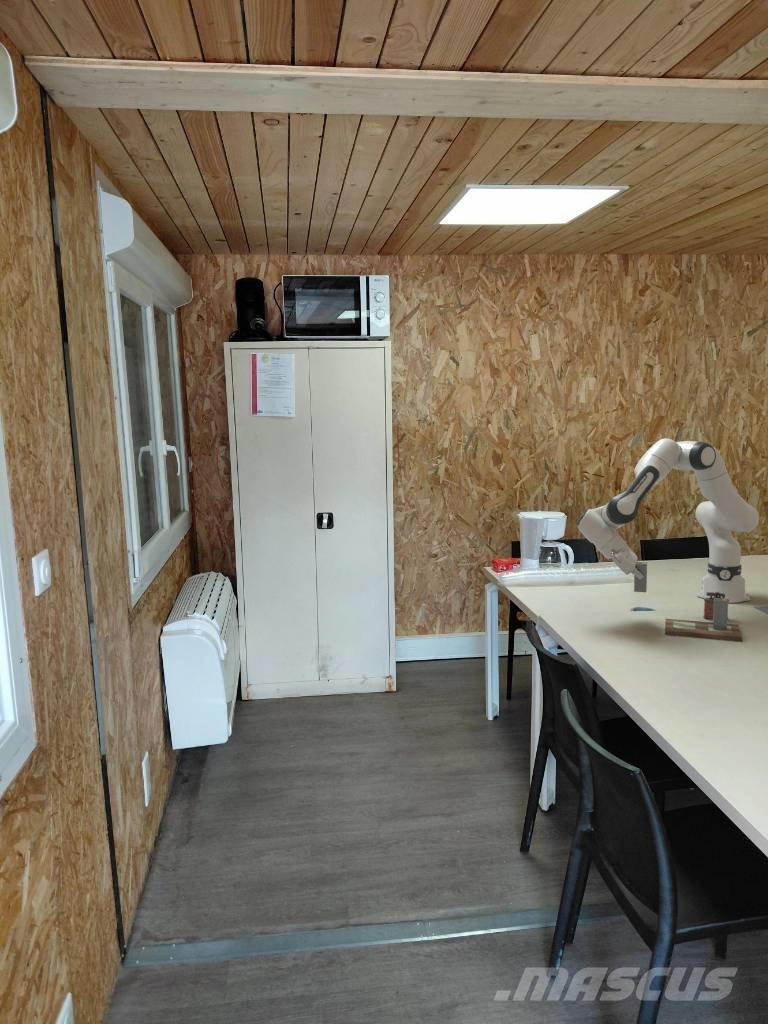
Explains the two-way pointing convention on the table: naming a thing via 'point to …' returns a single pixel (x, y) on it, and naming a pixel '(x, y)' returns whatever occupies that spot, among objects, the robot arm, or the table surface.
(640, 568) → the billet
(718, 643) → the table surface
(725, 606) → the block
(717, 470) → the robot arm
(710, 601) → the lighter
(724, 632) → the pallet
